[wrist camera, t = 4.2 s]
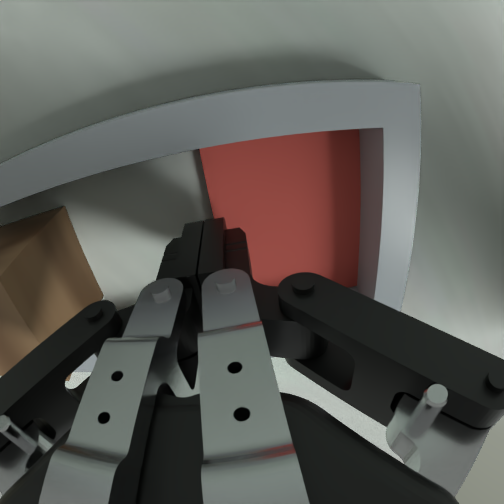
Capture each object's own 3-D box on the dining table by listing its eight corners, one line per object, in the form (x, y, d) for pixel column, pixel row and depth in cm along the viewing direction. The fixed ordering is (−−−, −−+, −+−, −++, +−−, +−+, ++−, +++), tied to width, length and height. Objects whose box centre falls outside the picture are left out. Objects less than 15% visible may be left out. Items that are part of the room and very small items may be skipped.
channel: (386, 79, 10) (419, 83, 8) (378, 299, 16) (395, 331, 14) (-73, 208, 10) (-97, 227, 8) (-1, 341, 16) (-15, 366, 14)
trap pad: (354, 119, 11) (358, 120, 10) (354, 280, 15) (357, 285, 15) (198, 138, 11) (197, 140, 10) (233, 301, 15) (234, 306, 15)
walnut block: (65, 205, 12) (-2, 277, 7) (103, 294, 14) (69, 381, 10) (-3, 227, 12) (-64, 291, 7) (35, 303, 14) (-4, 375, 10)
